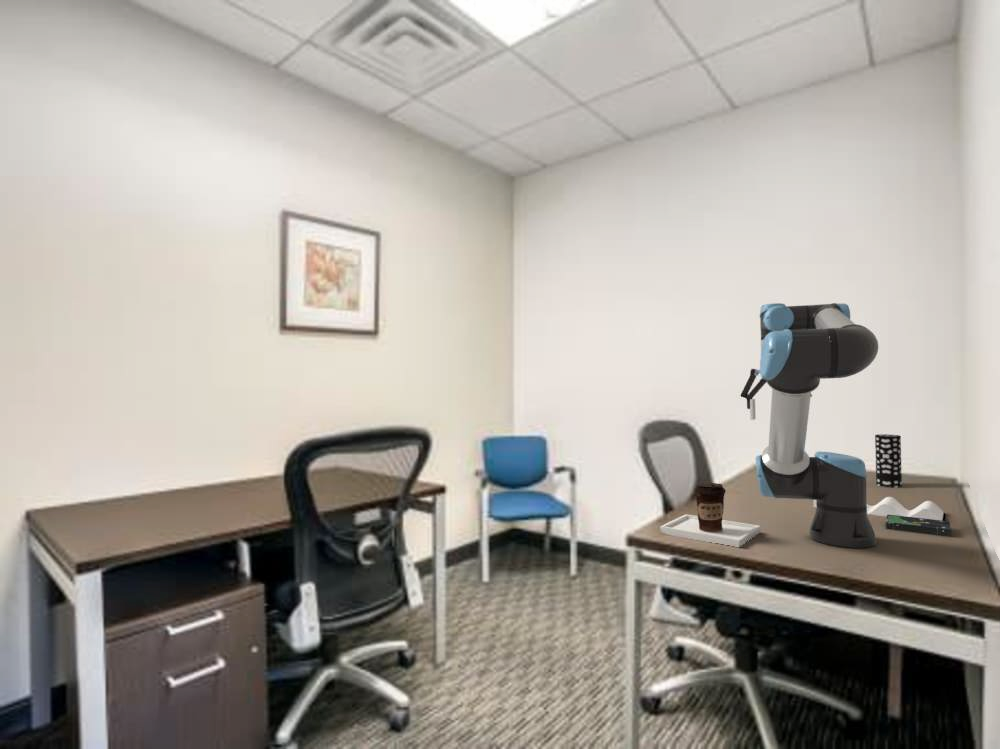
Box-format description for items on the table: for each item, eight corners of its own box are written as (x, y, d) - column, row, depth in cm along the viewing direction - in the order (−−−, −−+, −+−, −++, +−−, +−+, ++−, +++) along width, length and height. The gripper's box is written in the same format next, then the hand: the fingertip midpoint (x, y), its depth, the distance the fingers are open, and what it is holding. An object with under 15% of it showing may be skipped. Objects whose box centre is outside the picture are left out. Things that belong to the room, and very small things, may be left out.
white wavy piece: (946, 526, 163) (946, 508, 163) (813, 509, 186) (813, 494, 186) (948, 517, 173) (947, 500, 173) (821, 502, 196) (821, 487, 196)
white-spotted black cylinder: (907, 487, 215) (905, 436, 215) (885, 487, 215) (884, 436, 215) (892, 483, 223) (890, 434, 223) (871, 483, 223) (870, 434, 223)
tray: (760, 532, 157) (760, 525, 157) (739, 548, 144) (739, 540, 144) (685, 520, 172) (685, 514, 172) (660, 533, 158) (659, 526, 158)
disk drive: (949, 530, 158) (886, 522, 167) (949, 521, 158) (886, 513, 167) (951, 539, 150) (885, 530, 158) (951, 529, 150) (885, 520, 158)
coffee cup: (729, 534, 152) (728, 487, 152) (697, 533, 154) (696, 487, 154) (723, 526, 161) (722, 481, 161) (693, 525, 162) (692, 481, 163)
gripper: (821, 351, 168) (823, 420, 168) (737, 355, 185) (738, 418, 185) (815, 350, 163) (817, 422, 162) (729, 354, 179) (730, 419, 179)
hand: (775, 420), depth 174 cm, fingers open, 13 cm apart
